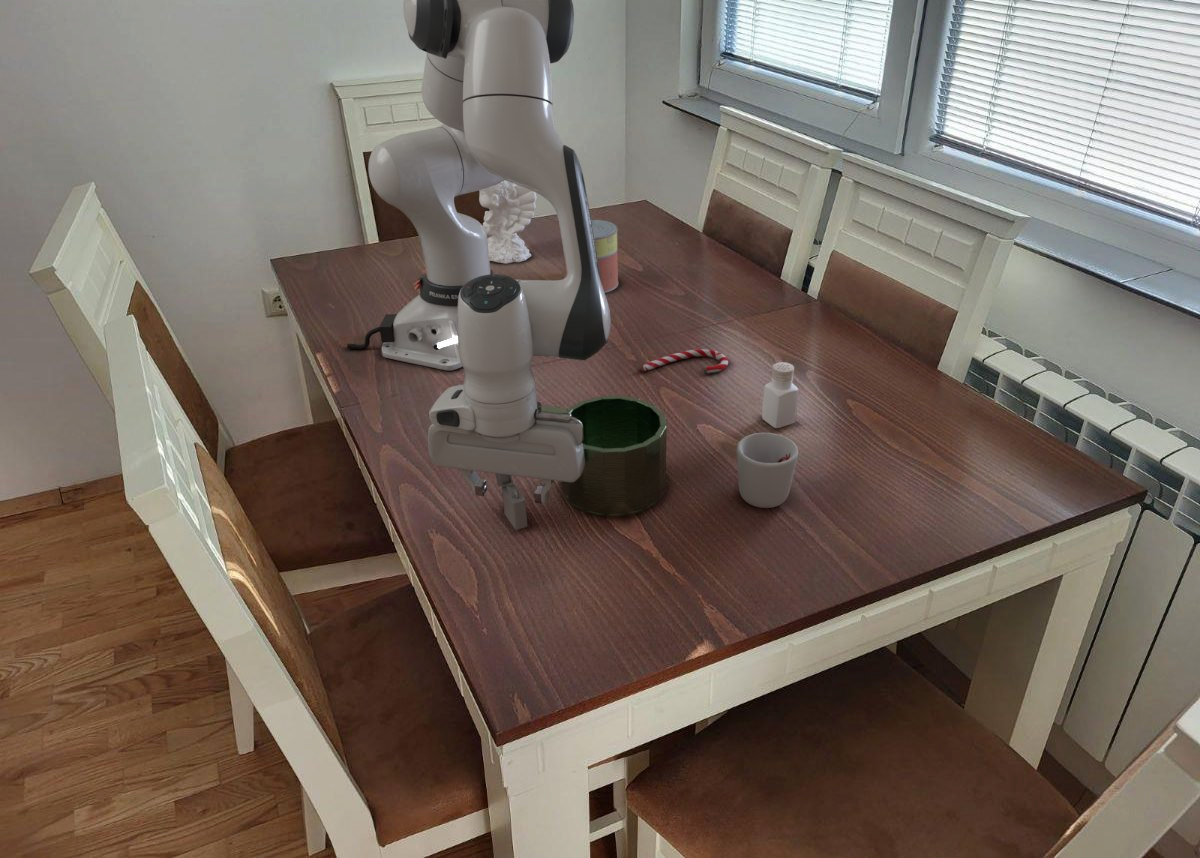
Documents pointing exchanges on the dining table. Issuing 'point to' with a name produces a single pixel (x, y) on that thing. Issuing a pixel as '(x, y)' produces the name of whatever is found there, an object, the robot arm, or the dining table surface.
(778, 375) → the pepper shaker
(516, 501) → the lighter
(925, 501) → the dining table surface
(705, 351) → the candy cane
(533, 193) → the cherub figurine
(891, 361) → the dining table surface
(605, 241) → the canned food
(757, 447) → the cup
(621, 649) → the dining table surface
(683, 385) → the dining table surface
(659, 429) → the tin
